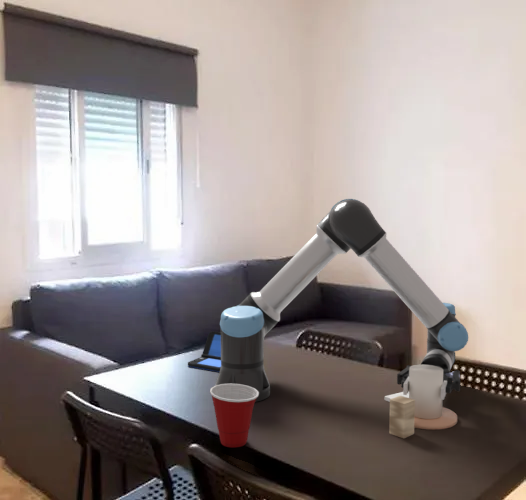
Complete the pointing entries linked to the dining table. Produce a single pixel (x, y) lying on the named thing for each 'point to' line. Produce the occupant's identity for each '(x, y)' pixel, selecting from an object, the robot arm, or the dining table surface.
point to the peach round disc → (437, 421)
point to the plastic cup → (233, 412)
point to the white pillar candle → (426, 390)
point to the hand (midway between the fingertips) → (423, 391)
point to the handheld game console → (210, 354)
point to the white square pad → (395, 396)
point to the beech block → (402, 416)
